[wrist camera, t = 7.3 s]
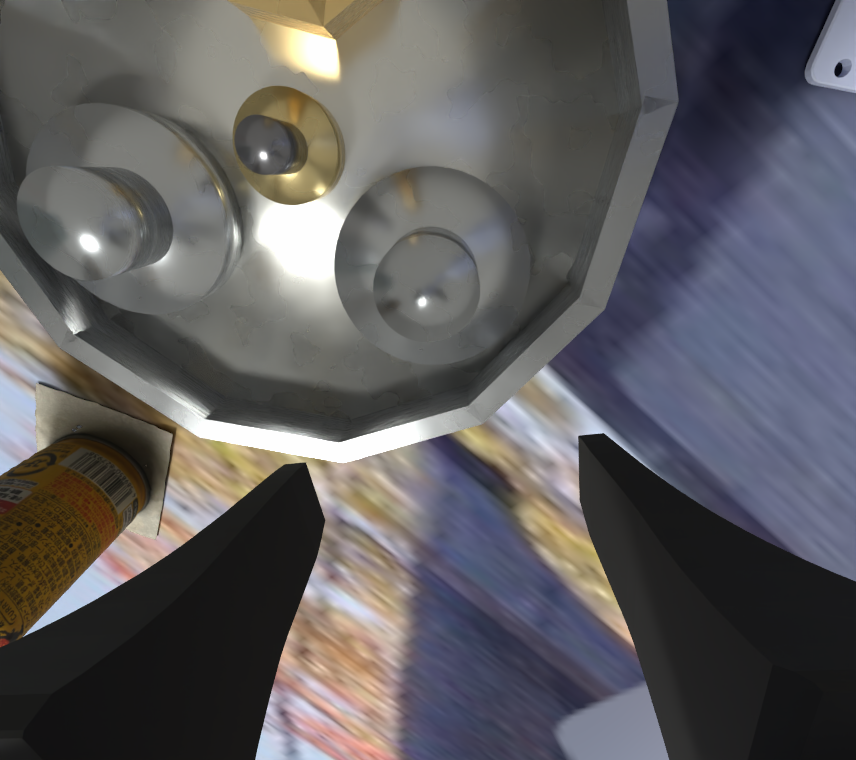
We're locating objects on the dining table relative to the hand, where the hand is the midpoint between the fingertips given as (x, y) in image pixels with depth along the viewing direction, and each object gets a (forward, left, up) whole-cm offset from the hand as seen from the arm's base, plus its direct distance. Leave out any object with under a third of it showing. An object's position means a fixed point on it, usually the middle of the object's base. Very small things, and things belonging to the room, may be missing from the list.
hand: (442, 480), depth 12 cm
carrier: (+7, -7, -10) cm, 14 cm away
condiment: (+18, +11, -10) cm, 23 cm away
